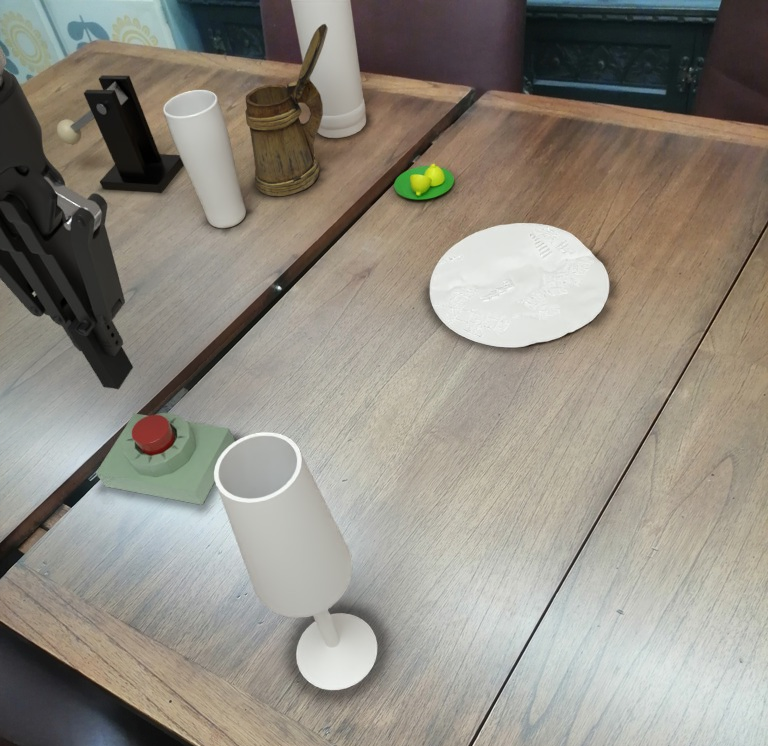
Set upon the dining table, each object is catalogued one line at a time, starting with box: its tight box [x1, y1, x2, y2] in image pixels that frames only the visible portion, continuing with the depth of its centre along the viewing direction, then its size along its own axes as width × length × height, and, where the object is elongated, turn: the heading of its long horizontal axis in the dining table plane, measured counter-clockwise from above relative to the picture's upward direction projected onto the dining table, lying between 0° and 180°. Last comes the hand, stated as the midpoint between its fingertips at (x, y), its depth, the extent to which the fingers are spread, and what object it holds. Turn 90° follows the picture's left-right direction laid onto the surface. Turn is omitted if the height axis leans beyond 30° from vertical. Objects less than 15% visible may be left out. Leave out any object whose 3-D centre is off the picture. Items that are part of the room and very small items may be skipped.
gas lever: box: [56, 82, 128, 145], centre depth 98 cm, size 14×3×3 cm, turn 73°
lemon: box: [393, 163, 455, 200], centre depth 92 cm, size 8×8×3 cm
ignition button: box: [132, 414, 175, 455], centre depth 66 cm, size 4×4×2 cm
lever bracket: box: [83, 74, 184, 194], centre depth 98 cm, size 10×8×13 cm
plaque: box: [429, 222, 610, 348], centre depth 78 cm, size 20×20×2 cm
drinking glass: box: [162, 89, 247, 229], centre depth 88 cm, size 7×7×15 cm
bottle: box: [290, 0, 367, 139], centre depth 93 cm, size 8×8×30 cm
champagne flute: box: [214, 431, 378, 691], centre depth 46 cm, size 7×7×24 cm
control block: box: [95, 412, 236, 506], centre depth 68 cm, size 11×8×4 cm
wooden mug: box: [244, 24, 328, 197], centre depth 91 cm, size 9×14×18 cm, turn 94°
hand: (118, 376), depth 60 cm, fingers closed
